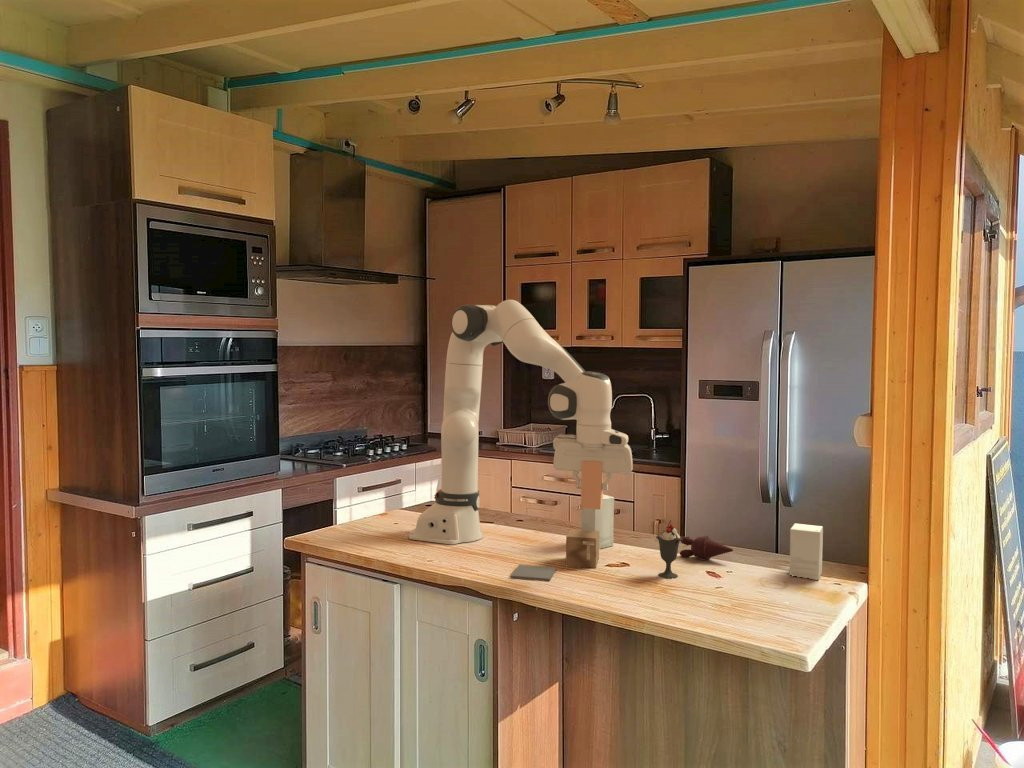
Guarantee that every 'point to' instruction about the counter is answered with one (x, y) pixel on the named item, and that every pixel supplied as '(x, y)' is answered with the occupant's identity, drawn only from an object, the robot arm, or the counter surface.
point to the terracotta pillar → (591, 485)
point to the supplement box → (806, 551)
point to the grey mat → (533, 572)
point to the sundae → (669, 549)
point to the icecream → (703, 548)
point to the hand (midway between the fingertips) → (592, 489)
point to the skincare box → (600, 521)
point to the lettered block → (582, 548)
